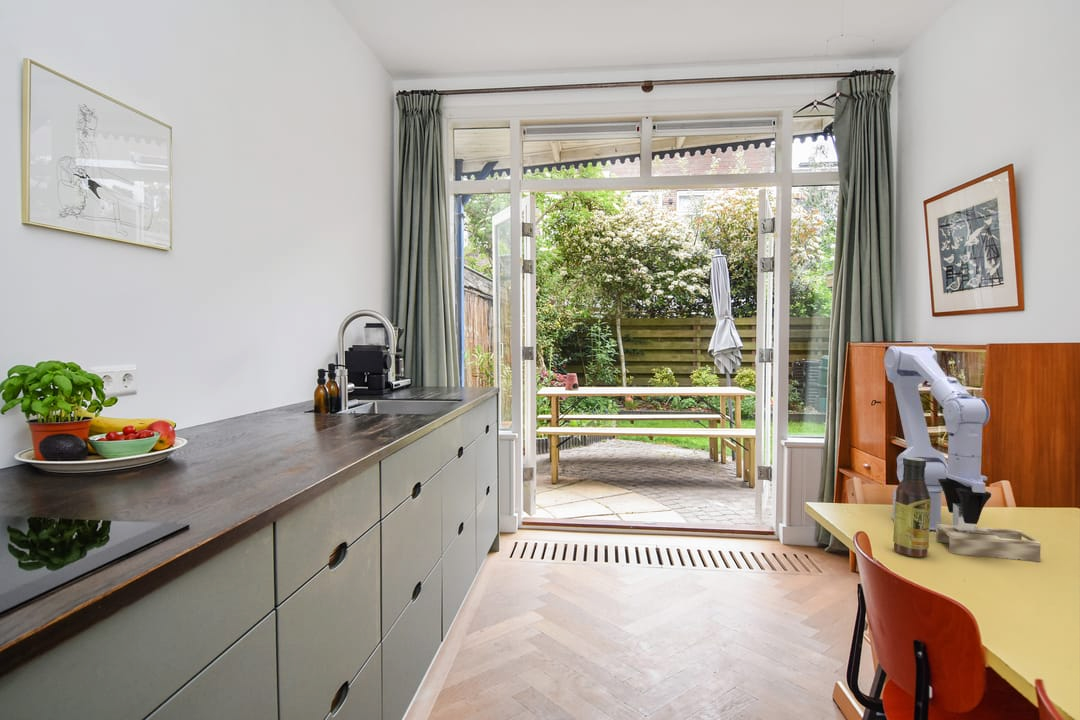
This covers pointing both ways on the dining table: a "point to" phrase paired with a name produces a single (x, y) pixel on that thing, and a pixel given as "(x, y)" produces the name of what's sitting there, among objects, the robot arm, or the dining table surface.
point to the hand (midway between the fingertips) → (962, 517)
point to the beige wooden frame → (989, 542)
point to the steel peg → (961, 520)
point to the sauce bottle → (912, 510)
